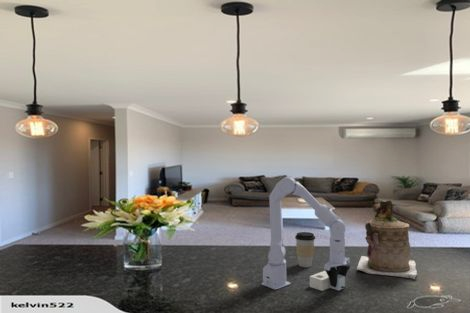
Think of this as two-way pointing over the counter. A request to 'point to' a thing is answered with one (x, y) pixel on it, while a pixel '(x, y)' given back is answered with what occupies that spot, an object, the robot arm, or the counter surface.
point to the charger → (340, 283)
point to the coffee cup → (305, 248)
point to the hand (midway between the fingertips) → (337, 284)
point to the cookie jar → (387, 245)
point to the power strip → (320, 281)
